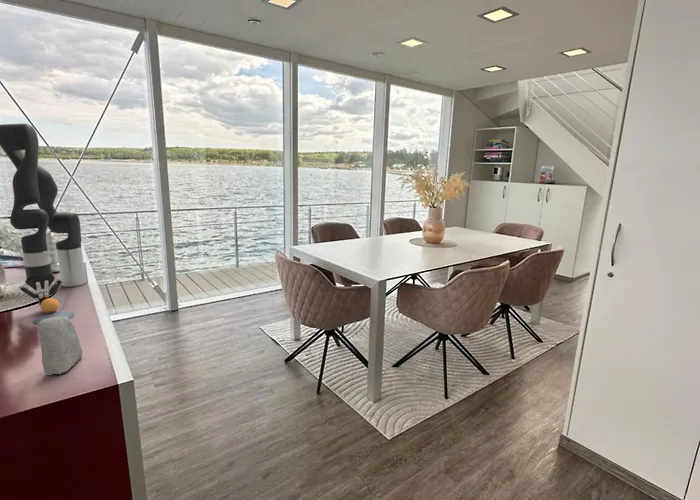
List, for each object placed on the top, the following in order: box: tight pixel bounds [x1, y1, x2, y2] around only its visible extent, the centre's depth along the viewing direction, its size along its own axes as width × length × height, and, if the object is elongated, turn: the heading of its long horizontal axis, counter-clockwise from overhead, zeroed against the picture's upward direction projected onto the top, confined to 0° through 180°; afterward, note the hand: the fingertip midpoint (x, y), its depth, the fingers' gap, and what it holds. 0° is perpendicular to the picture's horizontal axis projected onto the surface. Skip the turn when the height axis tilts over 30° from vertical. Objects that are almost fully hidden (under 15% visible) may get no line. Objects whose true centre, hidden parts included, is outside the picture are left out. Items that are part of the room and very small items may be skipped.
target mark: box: [32, 310, 76, 325], centre depth 136 cm, size 12×12×1 cm
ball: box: [39, 297, 60, 314], centre depth 140 cm, size 6×6×6 cm
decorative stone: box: [37, 316, 83, 376], centre depth 103 cm, size 11×6×15 cm, turn 5°
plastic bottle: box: [46, 232, 60, 273], centre depth 188 cm, size 6×7×20 cm
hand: (44, 306), depth 142 cm, fingers closed
